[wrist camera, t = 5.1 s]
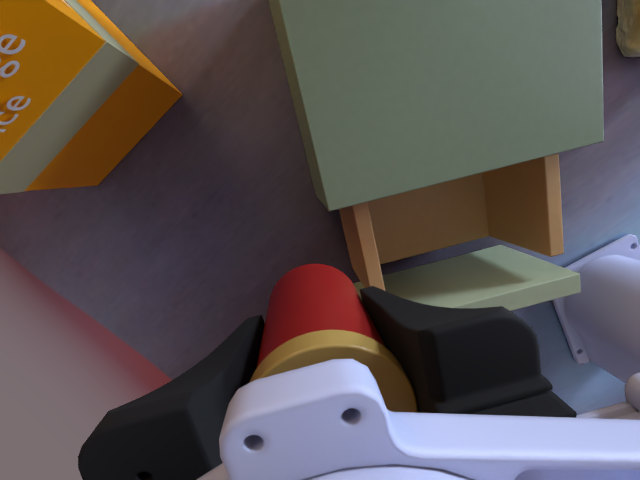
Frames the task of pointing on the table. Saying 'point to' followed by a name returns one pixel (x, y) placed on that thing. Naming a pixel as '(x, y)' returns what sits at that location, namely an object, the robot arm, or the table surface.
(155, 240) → the table surface
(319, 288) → the tea tin
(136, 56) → the orange juice
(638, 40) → the pastry
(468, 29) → the cabinet
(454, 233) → the drawer
